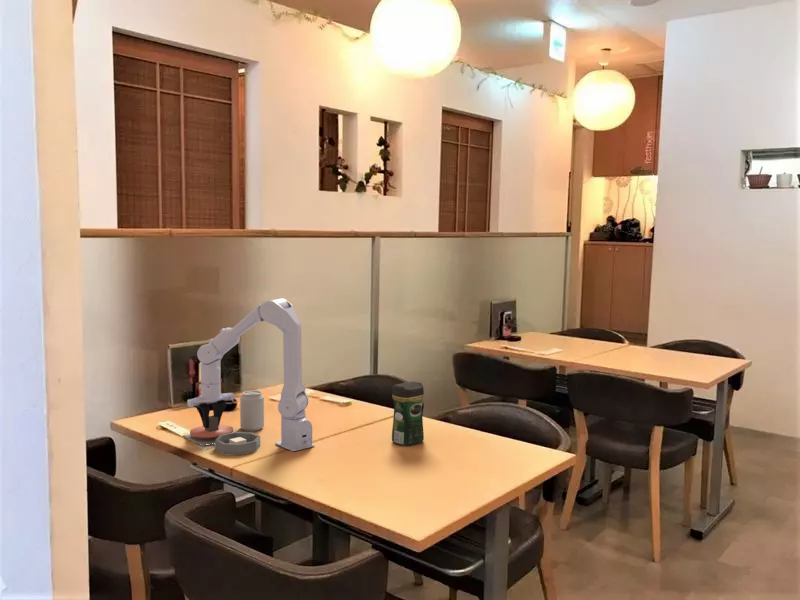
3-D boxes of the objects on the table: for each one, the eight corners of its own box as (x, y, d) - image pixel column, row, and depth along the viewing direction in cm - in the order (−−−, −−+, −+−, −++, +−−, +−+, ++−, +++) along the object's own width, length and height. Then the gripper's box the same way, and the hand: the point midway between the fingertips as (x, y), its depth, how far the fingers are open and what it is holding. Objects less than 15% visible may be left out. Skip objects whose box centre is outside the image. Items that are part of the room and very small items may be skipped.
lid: (241, 432, 213) (240, 417, 212) (202, 440, 204) (202, 424, 204) (220, 425, 222) (219, 410, 222) (182, 432, 213) (181, 417, 213)
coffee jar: (410, 436, 219) (411, 378, 217) (427, 442, 213) (428, 382, 211) (386, 442, 212) (387, 382, 210) (404, 448, 206) (405, 386, 205)
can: (251, 433, 219) (250, 395, 218) (235, 428, 224) (235, 392, 222) (268, 428, 225) (268, 391, 224) (253, 424, 229) (253, 388, 228)
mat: (238, 438, 213) (238, 436, 213) (202, 446, 205) (202, 444, 205) (219, 430, 222) (219, 428, 222) (183, 437, 213) (183, 435, 213)
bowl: (266, 448, 204) (266, 438, 203) (230, 457, 195) (230, 447, 195) (245, 439, 212) (245, 429, 212) (209, 447, 204) (209, 437, 204)
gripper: (225, 377, 219) (225, 419, 221) (182, 383, 209) (183, 427, 211) (237, 381, 214) (237, 424, 216) (193, 387, 204) (194, 432, 206)
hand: (211, 426), depth 213 cm, fingers closed on lid, 3 cm apart
